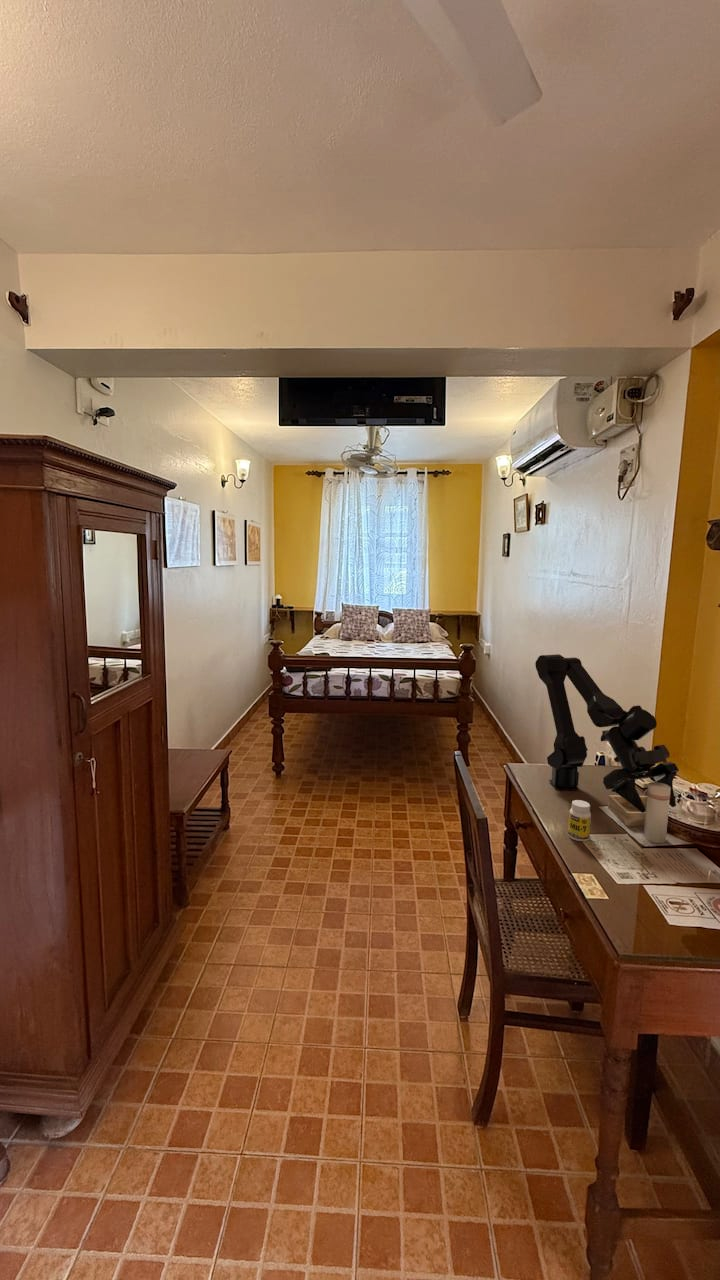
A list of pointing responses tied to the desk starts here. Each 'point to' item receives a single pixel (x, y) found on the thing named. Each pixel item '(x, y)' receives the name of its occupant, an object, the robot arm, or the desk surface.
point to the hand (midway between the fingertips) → (659, 809)
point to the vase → (657, 812)
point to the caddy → (627, 810)
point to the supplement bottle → (579, 820)
